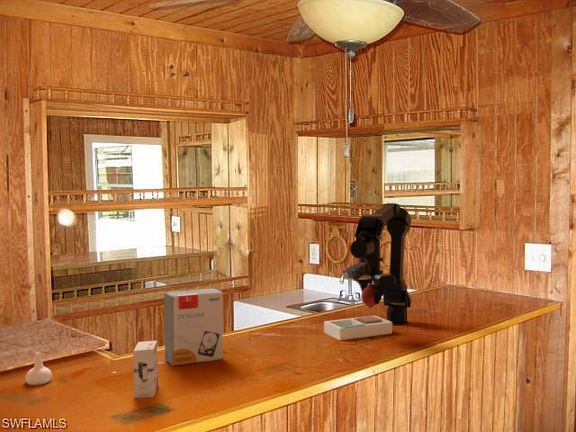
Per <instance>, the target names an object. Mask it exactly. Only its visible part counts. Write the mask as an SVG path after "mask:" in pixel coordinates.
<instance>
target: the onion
mask: <svg viewBox="0 0 576 432" xmlns="http://www.w3.org/2000/svg"><path fill="white" fill-rule="evenodd" d="M360 296H361V297H360V299H361V301H362V302H363V304H364V305H365V306H367V307H368V308H369V309H372V308H373V307H375V306H376V305H377V304H375V299H374V289H373V287H372V286H371V285H370V283H368V286H367V287H366V288H365V289H364V290H363V292H362V291H361V295H360Z"/></svg>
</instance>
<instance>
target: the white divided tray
mask: <svg viewBox="0 0 576 432" xmlns="http://www.w3.org/2000/svg"><path fill="white" fill-rule="evenodd" d="M323 333H324V334H326V335H328V336H330V337H332V338H334V339H337V340H338V341H344V340H346V341H347V340H352V339H354V340H355V339H359V338H360V339H361V338H367V337H368V338H369V337H374V336H382V335H383V336H384V335H389V334H393V324H392V322H391V321H388V320H387V319H385V318H382V317H379V316H376V315H369V316H368V315H367V316H360V317H352V318H341V319H336V320H335V319H334V320H325V321H323Z"/></svg>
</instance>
